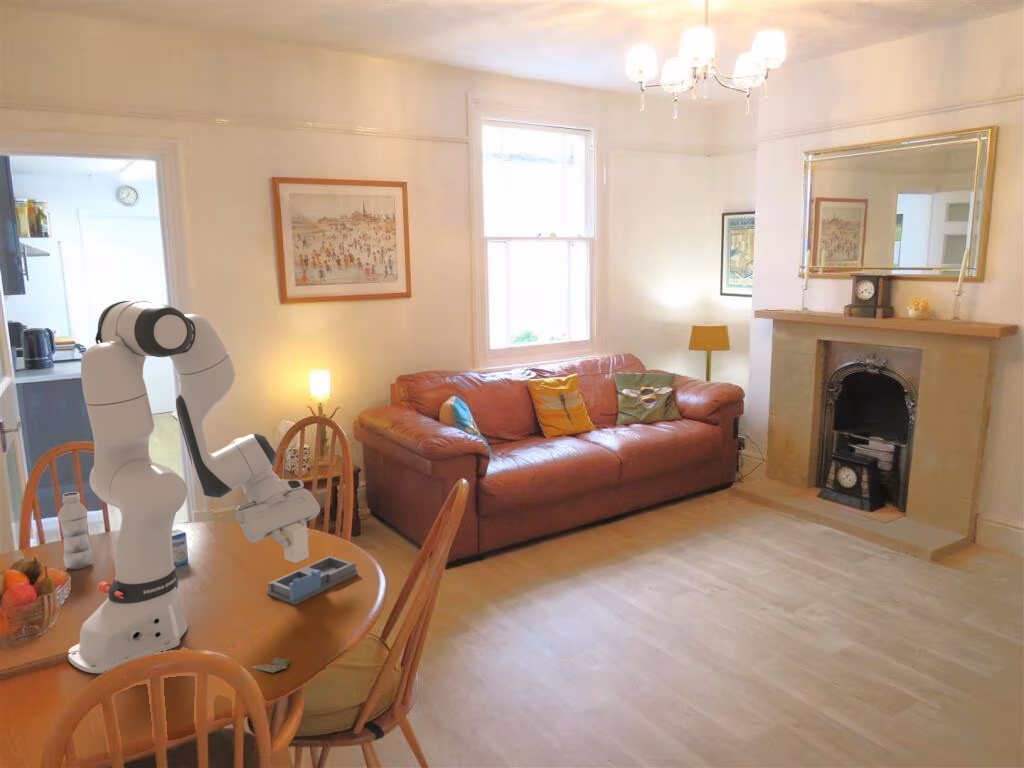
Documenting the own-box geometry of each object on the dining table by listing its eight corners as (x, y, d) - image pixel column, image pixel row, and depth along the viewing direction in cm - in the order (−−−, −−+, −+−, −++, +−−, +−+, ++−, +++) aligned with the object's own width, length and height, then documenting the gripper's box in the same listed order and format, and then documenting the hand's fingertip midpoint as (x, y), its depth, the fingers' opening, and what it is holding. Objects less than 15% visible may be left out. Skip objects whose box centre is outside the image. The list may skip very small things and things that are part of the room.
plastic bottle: (84, 572, 184) (76, 498, 180) (58, 572, 184) (49, 498, 180) (99, 561, 190) (91, 490, 187) (74, 561, 190) (66, 490, 187)
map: (278, 678, 138) (277, 673, 138) (202, 653, 147) (201, 649, 147) (296, 665, 143) (295, 660, 142) (221, 642, 151) (221, 638, 151)
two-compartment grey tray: (296, 605, 166) (294, 582, 165) (267, 594, 172) (265, 571, 171) (358, 574, 182) (358, 553, 181) (330, 565, 188) (329, 544, 187)
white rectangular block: (295, 562, 169) (293, 531, 168) (284, 559, 172) (282, 527, 170) (308, 557, 173) (306, 525, 171) (297, 553, 175) (295, 522, 173)
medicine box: (159, 573, 184) (156, 541, 182) (151, 568, 186) (148, 537, 185) (189, 562, 190) (186, 532, 188) (180, 558, 192) (177, 528, 191)
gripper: (236, 501, 164) (266, 551, 161) (306, 478, 181) (335, 522, 178) (226, 516, 168) (255, 564, 164) (296, 491, 184) (324, 535, 181)
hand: (297, 542), depth 171 cm, fingers closed on white rectangular block, 4 cm apart
